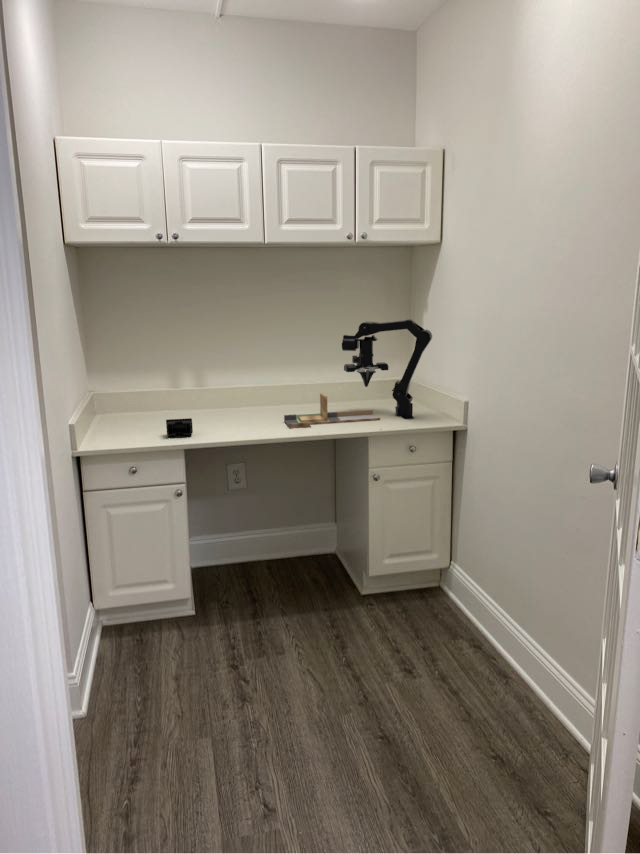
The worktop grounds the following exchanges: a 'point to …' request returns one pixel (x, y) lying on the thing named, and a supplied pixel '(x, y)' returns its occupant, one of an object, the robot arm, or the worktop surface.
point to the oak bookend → (323, 411)
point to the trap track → (332, 416)
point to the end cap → (179, 428)
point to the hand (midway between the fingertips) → (366, 386)
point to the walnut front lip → (328, 422)
